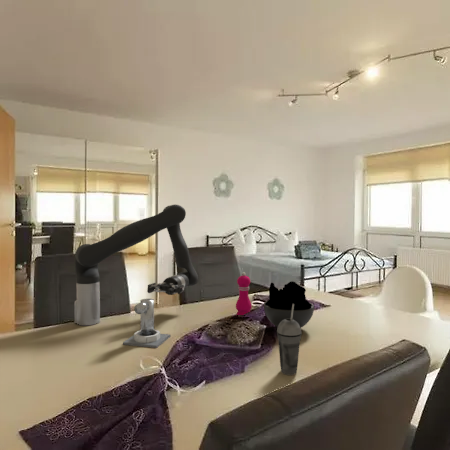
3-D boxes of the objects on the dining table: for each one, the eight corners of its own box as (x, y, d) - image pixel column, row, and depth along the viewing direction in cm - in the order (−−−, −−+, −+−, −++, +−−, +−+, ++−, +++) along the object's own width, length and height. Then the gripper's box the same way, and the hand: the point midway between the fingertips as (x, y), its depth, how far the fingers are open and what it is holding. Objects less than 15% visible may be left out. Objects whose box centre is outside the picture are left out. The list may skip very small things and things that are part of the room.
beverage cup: (273, 366, 111) (274, 301, 110) (297, 366, 111) (298, 300, 111) (279, 377, 103) (279, 307, 103) (304, 376, 104) (305, 306, 103)
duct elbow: (132, 343, 128) (132, 303, 128) (144, 335, 137) (144, 297, 136) (145, 344, 127) (145, 304, 126) (156, 336, 135) (156, 298, 135)
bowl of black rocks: (318, 325, 152) (318, 280, 151) (307, 340, 134) (308, 289, 133) (272, 319, 160) (272, 276, 160) (256, 333, 142) (256, 284, 141)
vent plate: (122, 344, 129) (122, 336, 129) (138, 333, 141) (138, 326, 141) (156, 347, 126) (156, 339, 126) (170, 336, 138) (170, 329, 138)
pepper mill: (250, 318, 161) (250, 273, 161) (234, 317, 163) (234, 273, 162) (252, 314, 168) (252, 271, 168) (237, 313, 170) (237, 270, 169)
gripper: (159, 274, 161) (142, 280, 145) (190, 277, 157) (176, 283, 142) (158, 291, 161) (141, 299, 145) (189, 294, 158) (175, 302, 142)
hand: (158, 291), depth 144 cm, fingers open, 8 cm apart
